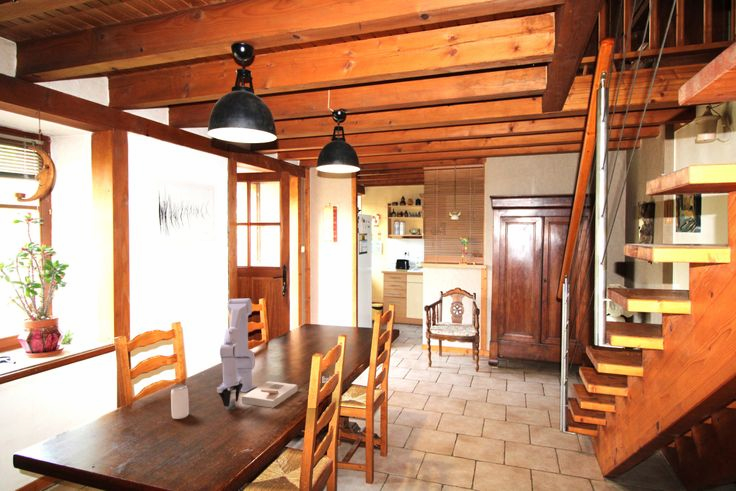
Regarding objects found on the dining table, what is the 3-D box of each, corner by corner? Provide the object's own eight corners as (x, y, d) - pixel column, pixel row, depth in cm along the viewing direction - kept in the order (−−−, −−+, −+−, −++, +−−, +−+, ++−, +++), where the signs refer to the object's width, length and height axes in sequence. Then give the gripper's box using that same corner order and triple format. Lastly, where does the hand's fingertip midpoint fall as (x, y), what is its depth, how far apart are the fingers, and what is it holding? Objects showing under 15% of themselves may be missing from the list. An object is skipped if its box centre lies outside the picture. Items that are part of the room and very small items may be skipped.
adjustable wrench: (316, 398, 194) (316, 394, 194) (303, 397, 196) (303, 393, 196) (334, 379, 219) (334, 375, 219) (322, 378, 220) (322, 375, 220)
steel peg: (223, 409, 183) (222, 391, 183) (230, 405, 187) (229, 387, 187) (232, 411, 181) (231, 392, 181) (239, 406, 186) (238, 388, 185)
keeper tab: (260, 391, 187) (261, 389, 188) (270, 392, 194) (270, 390, 194) (268, 392, 186) (269, 390, 186) (277, 393, 193) (278, 391, 193)
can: (172, 420, 173) (171, 391, 173) (171, 414, 179) (170, 386, 178) (189, 417, 176) (188, 388, 176) (188, 411, 182) (187, 383, 181)
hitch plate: (241, 403, 189) (241, 396, 189) (268, 387, 208) (268, 381, 208) (273, 407, 184) (272, 400, 184) (297, 391, 202) (297, 384, 202)
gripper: (226, 378, 175) (227, 411, 176) (248, 367, 189) (249, 398, 189) (212, 376, 178) (213, 409, 178) (235, 366, 192) (236, 396, 192)
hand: (230, 403), depth 184 cm, fingers open, 5 cm apart
